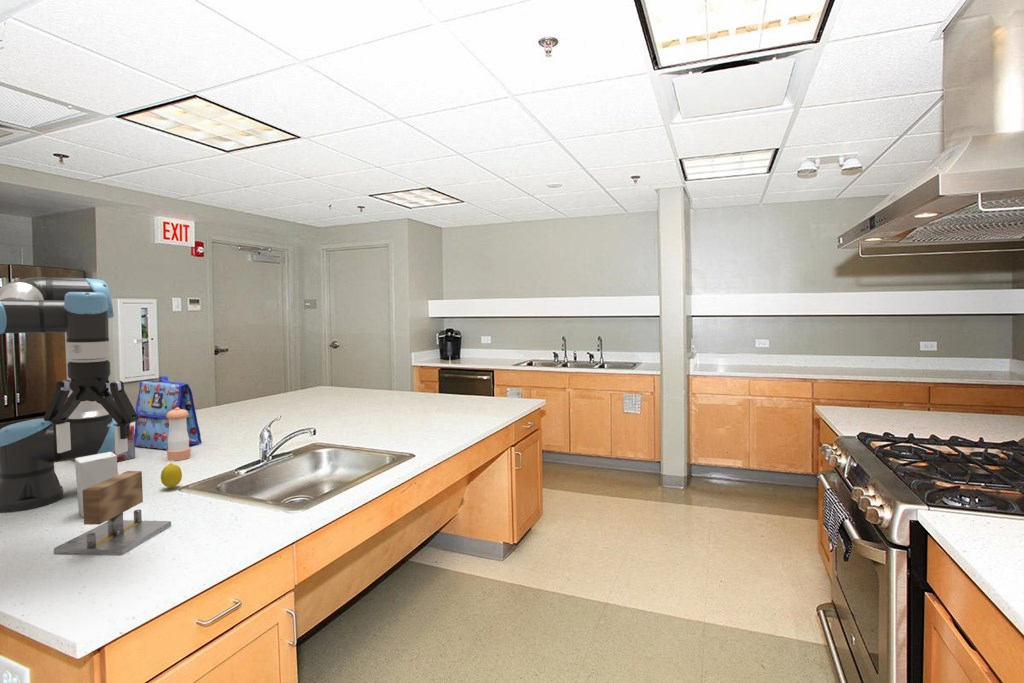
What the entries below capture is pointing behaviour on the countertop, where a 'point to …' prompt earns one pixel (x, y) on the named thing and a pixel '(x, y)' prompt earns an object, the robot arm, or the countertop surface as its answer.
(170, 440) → the pink and white bottle
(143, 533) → the base plate
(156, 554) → the countertop surface
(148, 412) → the lunch bag
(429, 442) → the countertop surface
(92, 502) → the wooden block
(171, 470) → the lemon
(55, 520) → the countertop surface
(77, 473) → the skincare box
